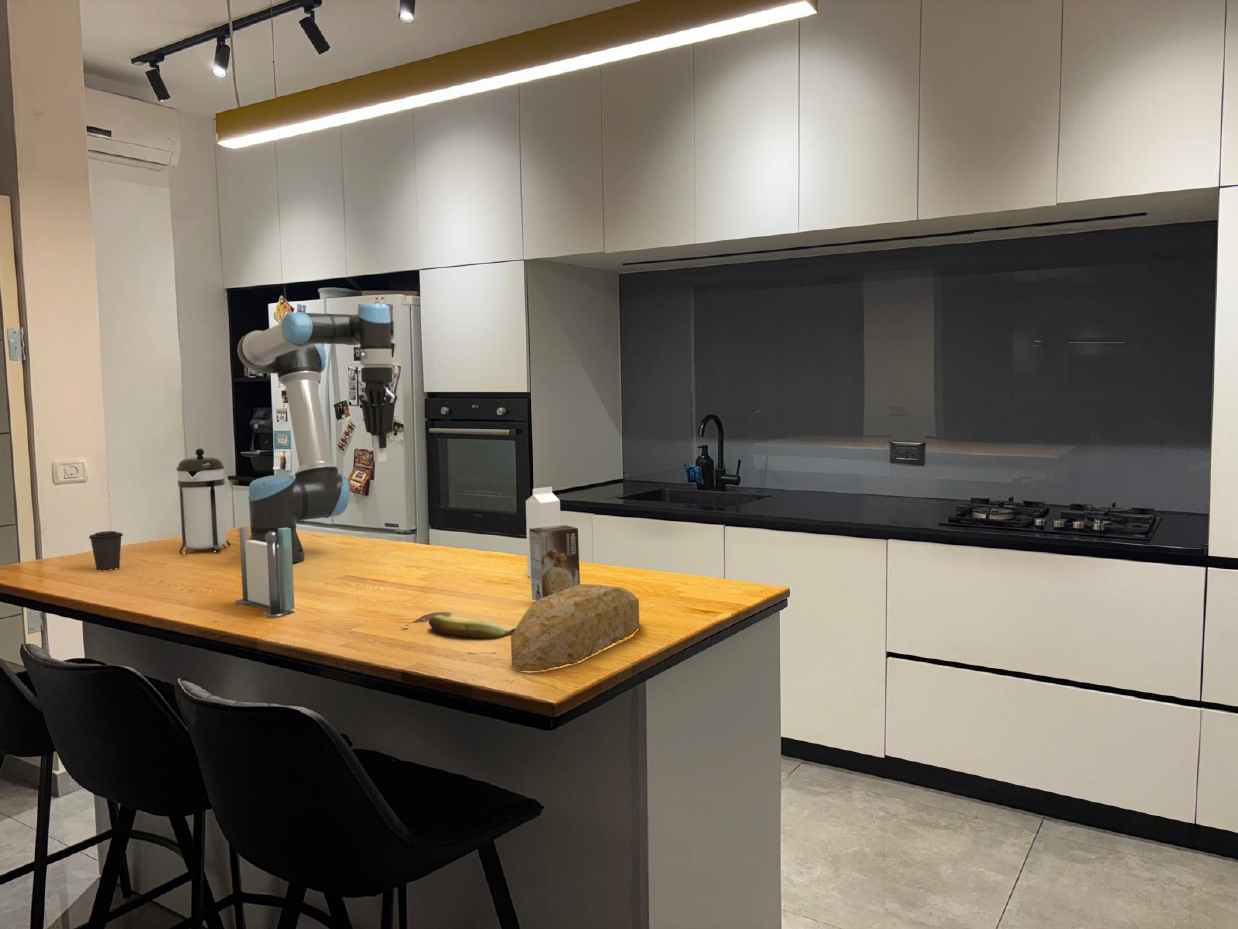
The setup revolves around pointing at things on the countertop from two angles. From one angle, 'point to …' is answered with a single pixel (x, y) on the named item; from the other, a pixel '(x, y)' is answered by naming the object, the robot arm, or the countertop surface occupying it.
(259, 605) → the sill
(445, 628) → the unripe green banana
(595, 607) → the bread
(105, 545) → the coffee cup
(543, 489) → the milk
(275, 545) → the post
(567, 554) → the coffee box
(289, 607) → the gate
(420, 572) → the countertop surface
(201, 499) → the coffee press
